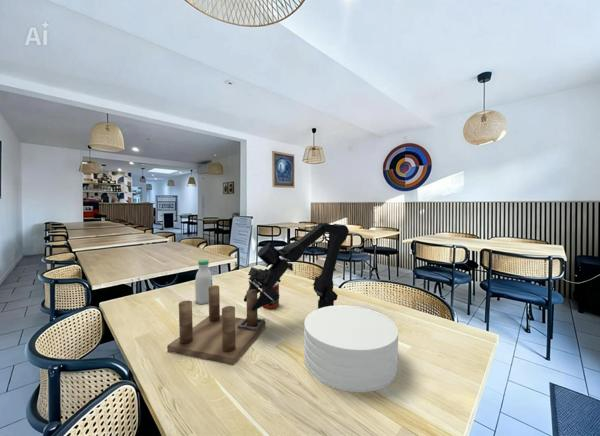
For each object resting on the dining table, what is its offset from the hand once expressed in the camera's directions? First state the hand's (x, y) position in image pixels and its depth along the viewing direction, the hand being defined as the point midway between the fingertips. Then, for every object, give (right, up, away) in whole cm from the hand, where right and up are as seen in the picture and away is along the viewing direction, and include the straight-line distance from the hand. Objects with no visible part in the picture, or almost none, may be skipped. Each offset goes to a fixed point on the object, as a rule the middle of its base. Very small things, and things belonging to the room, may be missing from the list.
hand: (248, 305), depth 96 cm
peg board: (-9, -10, -4) cm, 14 cm away
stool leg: (+1, -8, +1) cm, 8 cm away
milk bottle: (-27, -8, +29) cm, 40 cm away
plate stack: (+35, -12, -16) cm, 40 cm away
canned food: (+6, -9, +24) cm, 26 cm away
